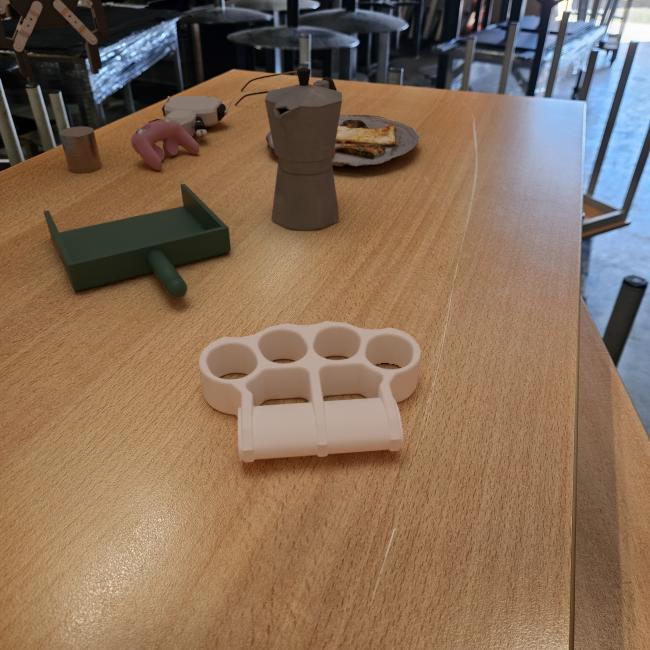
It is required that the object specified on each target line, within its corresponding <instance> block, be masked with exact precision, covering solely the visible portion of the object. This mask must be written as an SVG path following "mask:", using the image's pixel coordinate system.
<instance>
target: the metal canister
mask: <svg viewBox="0 0 650 650" xmlns="http://www.w3.org/2000/svg"><path fill="white" fill-rule="evenodd" d="M59 138H60V141H61V145H62V150H63V153H64V157H65V160H66V164H67V168H68V171H69V172H72V173H76V174H87V173H93V172H96V171H98V170H99V169H101V168H102V165H103V164H102V160H101V155H100V152H99V148H98V142H97V138H96V133H95V129H94V128H93V127H90V126H71V127H67V128H64V129H62V130H60V131H59Z"/></svg>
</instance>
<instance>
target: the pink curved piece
mask: <svg viewBox="0 0 650 650" xmlns="http://www.w3.org/2000/svg"><path fill="white" fill-rule="evenodd" d="M152 121H153V120H152ZM149 122H150V121H149ZM161 141H162V148H161V146H159V145H157V144H156V143H158V142H161ZM130 143H131V146H132V149H133V150H134V152H136V154H138V155H139V156H140V157H141V159H142V160H143V161H144V162H145V164H147V165H148V166H149V167H150V168H151V169H153V170H155V171H159V172H160V171H162V170H163V167H164V165H163V160H164V158H165V155H166V156H167V157H174V156H176V155H177V154H178V153H179V146H180V147H182V148H183V149H184V150H185V151H187V152H188V153H190V154H192V155H195V156H197V155H198V154H199V153H200V146H199V144H198V142H197V141H196V139H194V138H193V136H192V137H191V136H190V135H189V134H188V133H187V131H186V130H185V129H184V128H183V127H182V126H181V125H180V124H179V123H177V122H175V120H173V119H171V120H164V119H161V120H157V121H153V122H150V123H148V122H147V123H146V124H144V125H143V126H141V127H140V128H138V129H137V130H136V131H135V132H134V133H133V134H132V136H131V138H130Z"/></svg>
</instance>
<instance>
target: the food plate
mask: <svg viewBox="0 0 650 650" xmlns="http://www.w3.org/2000/svg"><path fill="white" fill-rule="evenodd" d="M421 137H422V136H421V135H419V132H418V131H417V130H416V129H414V128H413V127H412V126H411V125H408V124H406V123H404V122H400V121H396V120H391V119H389V118H386V117H385V118H384V116H378V115H370V114H369V115H368V114H340V117H339V123H338V129H337V136H336V142H335V148H334V155H333V156H332V166H335V167H343V166H345V165H348V166H352V167H358V166H359V167H360V166H369V165H379V164H383V163H385V162H389V161H391V159H393V158H396V157H400V156H403V155H406V154H407V153H408V152H410V151H412V150H414V148H415V147H416V146H418V144H419V142H420V140H421ZM265 140H266V144H267V147H268V148H269V149H270V150H272V153H274V146H273V141H272V136H271V130H269V132H268V133H267V134H266V136H265Z"/></svg>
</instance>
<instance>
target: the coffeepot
mask: <svg viewBox="0 0 650 650" xmlns="http://www.w3.org/2000/svg"><path fill="white" fill-rule="evenodd" d="M296 70H297V72H296V74H297V80H298V84H295V85H290V86H285V87H282V88H281V87H280V88H277V89H272V90H267V91H268V92H267V93H266V95H265V98H264V103H265V108H266V109H265V110H266V113H267V119H268V124H269V129H270V130H269V131H271V136H272V141H273V146H274V149H273V153H274V155H275V156H277V169H276V177H275V186H274V194H273V202H272V203H273V204H272V211H271V220H272V221H273V222H275V223H276V224H277V225H279V226H280V227H282V228H285V229H289V230H293V231H302V232H303V231H305V232H306V231H316V230H321V229H325V228H328V227H330V226H332V225H334V224H335V223H336V222H337V221H339V219H340V217H339V216H340V215H339V203H338V196H337V195H338V194H337V189H336V182H335V175H334V168H333V165H332V156H333V155H334V148H335V142H336V136H337V129H338V123H339V117H340V115H341V109H342V104H343V92H342V91H338V90H337V86H336V85H335V82H334V79H333V78H332V77H330V76H325V77H323V78H322V79H318V80H316V81H314V82H313V84H309V83H310V77H311V72H312V71H311V68H308V67H305V66H303V67H300V68H297V69H296Z"/></svg>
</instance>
